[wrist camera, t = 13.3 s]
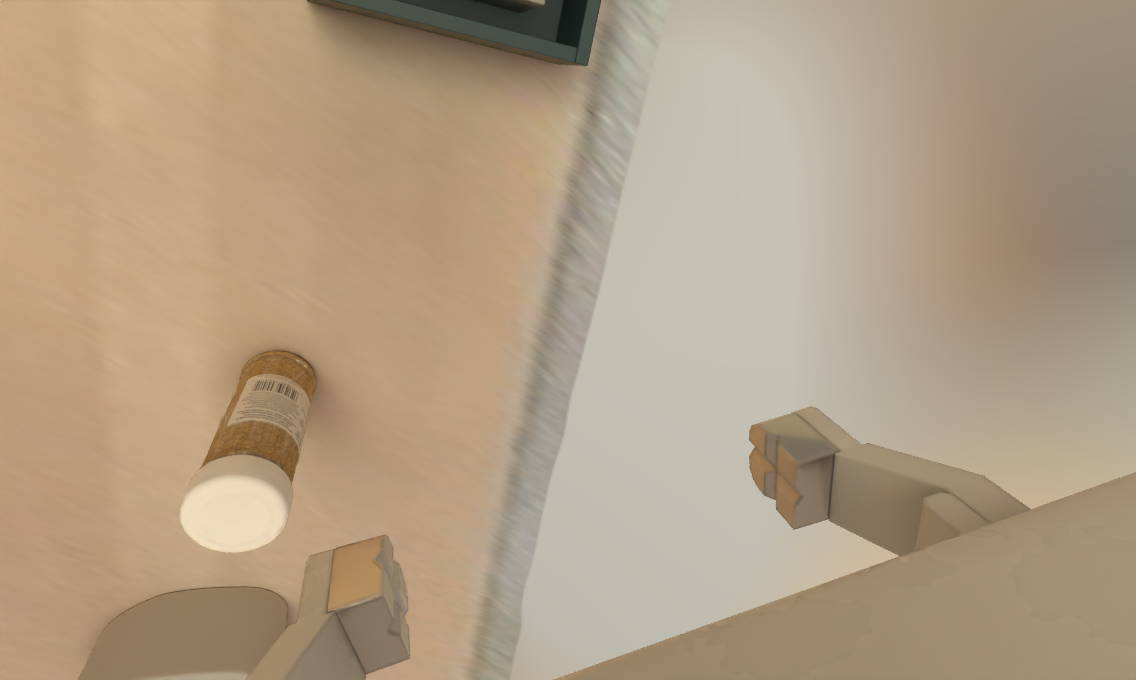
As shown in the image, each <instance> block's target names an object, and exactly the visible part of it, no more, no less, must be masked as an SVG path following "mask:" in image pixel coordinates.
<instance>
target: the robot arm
mask: <svg viewBox="0 0 1136 680" xmlns="http://www.w3.org/2000/svg"><path fill="white" fill-rule="evenodd" d="M749 434H750V436H749V440H750V441H751V443H752V444H753V445H754V446H755V448H754V449H753V451H752V453H751V454H750V456H749V460H750V470H751V473H752V477H753V480H754V481H755V483H756V485H757V487H758V488H759V490H760V491H761V492H762V493H763V494H764V495H765V496H767V497H769V498H772V499H775V500H776V510H777V511H778V512H779V513H780V514H781V515H782V517H783V518H784V519H785V520H786V521H787V522H788V524H789V525H790V526H791V527H792V528H793V529H798V528H801V527H804V526H807V525H811V524H814V523H818V522H821V521H824V520H827V519H829V521H831V522H833V523H835V524H836V525H838V526H840V527H842V528H844V529H846V530H848V531H850V532H852V533H854V534H856V535H859V536H860V537H863V538H865V539H866V540H868V541H871V542H872V543H875V544H876V545H878V546H880V547H883V548H884V549H887V550H889V551H891V552H893V553H895V554H897V555H899V557H897V558H894V559H891V560H888V561H885V562H883V563H880V564H877V565H874V566H872V567H869V568H866V569H863V570H860V571H857V572H855V573H852V574H849V575H846V576H844V577H841V578H838V579H835V580H832V581H830V582H827V583H824V584H821V585H819V586H815V587H813V588H810V589H807V590H804V591H801V592H799V593H796V594H793V595H790V596H787V597H784V598H782V599H779V600H776V601H773V602H770V603H768V604H765V605H762V606H759V607H756V608H753V609H751V610H748V611H745V612H742V613H739V614H737V615H734V616H731V617H728V618H725V619H722V620H720V621H717V622H714V623H711V624H708V625H706V626H703V627H700V628H697V629H695V630H692V631H689V632H686V633H683V634H680V635H678V636H675V637H672V638H669V639H666V640H664V641H661V642H658V643H655V644H652V645H650V646H647V647H644V648H641V649H639V650H636V651H633V652H630V653H628V654H625V655H622V656H619V657H616V658H613V659H611V660H608V661H605V662H602V663H599V664H596V665H594V666H591V667H588V668H585V669H582V670H580V671H577V672H574V673H571V674H568V675H566V676H563V677H560V678H557V679H555V680H1136V472H1135V473H1132V474H1129V475H1127V476H1124V477H1121V478H1118V479H1115V480H1113V481H1110V482H1107V483H1104V484H1101V485H1098V486H1096V487H1093V488H1090V489H1087V490H1084V491H1082V492H1079V493H1076V494H1073V495H1070V496H1068V497H1065V498H1062V499H1059V500H1057V501H1054V502H1051V503H1049V504H1045V505H1042V506H1040V507H1037V508H1034V509H1030V508H1028V507H1027V506H1026V505H1024V504H1023V503H1021V502H1020V501H1019V500H1017V499H1016V498H1014V497H1013V496H1011V495H1010V494H1009V493H1007V492H1006V491H1004V490H1003V489H1002V488H1000V487H999V486H997V485H996V484H995V483H993V482H992V481H990V480H989V479H988V478H986V477H985V476H983V475H979V474H975V473H972V472H968V471H965V470H961V469H958V468H954V467H950V466H947V465H944V464H940V463H937V462H933V461H930V460H926V459H922V458H919V457H915V456H912V455H908V454H905V453H901V452H898V451H894V450H891V449H887V448H884V447H880V446H876V445H873V444H869V443H867V444H863V445H862V444H860V443H859V442H858V441H857V440H856V439H854V438H853V437H852V436H850V435H849V434H848V433H847V432H846V431H844V430H843V429H842V428H841V427H840V426H838V425H837V424H836V423H834V422H833V421H832V420H831V419H830V418H829V417H827V416H826V415H825V414H824V413H822V412H821V411H820V410H819V409H817V408H815V407H808V408H805V409H802V410H799V411H795V412H793V413H791V414H787V415H784V416H781V417H778V418H774V419H771V420H768V421H765V422H761V423H758V424H755V425H752V426H751V429H750V431H749ZM407 612H408V596H407V590H406V584H405V580H404V576H403V573H402V570H401V567H400V564H399V563H397V562H395V561H393V547H392V544H391V542H390V540H389V537H388V536H387V535H381V536H378V537H374V538H370V539H367V540H363V541H359V542H356V543H352V544H348V545H345V546H341V547H337V548H336V549H332V550H328V551H325V552H321V553H317V554H314V555H310V557H309V558H308V560H307V562H306V567H305V573H304V579H303V585H302V591H301V597H300V603H299V609H298V615H297V621H296V623H295V624H292V625H289V626H288V627H287V628H286V629H285V631H284V632H283V633H282V634H281V636H280V637H279V638H278V639H277V641H276V642H275V643H274V644H273V646H272V647H271V648H270V649H269V651H268V652H267V653H266V654H265V656H264V657H263V658H262V659H261V661H260V662H259V663H258V664H257V666H256V667H255V668H254V669H253V670H252V672H251V673H250V674H249V675H248V677H247V678H246V679H245V680H365V679H366V674H369V673H372V672H374V671H377V670H380V669H383V668H385V667H388V666H391V665H394V664H396V663H399V662H402V661H405V660H407V659H410V644H409V628H408V625H407V623H406V620H405V617H404V616H405V615H406V613H407Z"/></svg>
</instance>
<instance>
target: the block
mask: <svg viewBox="0 0 1136 680" xmlns="http://www.w3.org/2000/svg"><path fill="white" fill-rule="evenodd" d="M474 1H478V2H481V3H485V4H489V5H492V6H496V7H500V8H503V9H507V10H510V11H514V12H518V13H521V12H524V11H527V10H530V9H533V8H536V7H539V6H542V5H544V4H545V0H474Z"/></svg>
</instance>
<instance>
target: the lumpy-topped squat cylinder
mask: <svg viewBox="0 0 1136 680" xmlns="http://www.w3.org/2000/svg"><path fill="white" fill-rule="evenodd" d="M287 616H288V607H287V604H286V602H285V600H284V599H283V598H282V597H280V596H279V595H277V594H275V593H273V592H271V591H268V590H265V589H261V588H253V587H225V588H206V589H195V590H187V591H179V592H173V593H168V594H163V595H160V596H157V597H154V598H152V599H149V600H147V601H145V602H143V603H141V604H139V605H137V606H135V607H133V608H131V609H129V610H127V611H126V612H124V613H122V614H121V615H119V616H118V617H116V618H115V619H114V620H113V621H112V622H111V623H110V624H109V625H108V626H107V627H106V628H105V629H104V630H103V632H102V633H101V635H100V637H99V638H98V640H97V642H96V644H95V646H94V648H93V650H92V652H91V654H90V656H89V658H88V660H87V662H86V664H85V666H84V668H83V670H82V672H81V674H80V676H79V678H78V680H245V679H246V678H247V677H248V675H249V674H250V673H251V672H252V670H253V669H254V668H255V667H256V666H257V664H258V663H259V662H260V661H261V659H262V658H263V657H264V656H265V654H266V653H267V652H268V651H269V649H270V648H271V647H272V646H273V644H274V643H275V642H276V641H277V639H278V638H279V637H280V636H281V634H282V633H283V632H284V631H285V629H286V622H287Z"/></svg>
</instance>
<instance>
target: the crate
mask: <svg viewBox="0 0 1136 680" xmlns="http://www.w3.org/2000/svg"><path fill="white" fill-rule="evenodd" d="M307 1H310V2H313V3H317V4H321V5H325V6H329V7H333V8H337V9H341V10H345V11H349V12H353V13H357V14H361V15H365V16H369V17H373V18H377V19H381V20H385V21H389V22H393V23H397V24H401V25H405V26H409V27H413V28H417V29H421V30H425V31H428V32H432V33H436V34H440V35H444V36H448V37H452V38H456V39H460V40H464V41H468V42H472V43H476V44H480V45H484V46H488V47H492V48H496V49H500V50H504V51H508V52H512V53H516V54H520V55H524V56H528V57H532V58H536V59H539V60H543V61H547V62H551V63H555V64H561V65H580V66H587V65H588V61H589V56H590V51H591V46H592V42H593V37H594V32H595V27H596V23H597V18H598V13H599V8H600V3H601V0H545V4H544V5H542V6H539V7H536V8H533V9H530V10H527V11H524V12H521V13H518V12H514V11H510V10H507V9H503V8H500V7H496V6H492V5H489V4H485V3H481V2H478V1H474V0H307Z"/></svg>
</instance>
